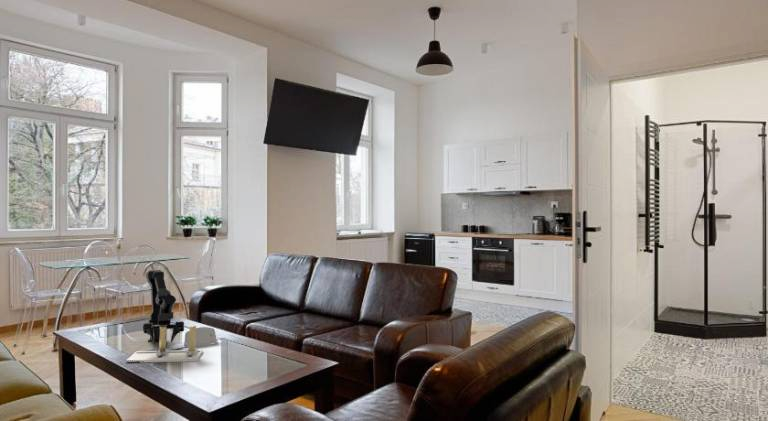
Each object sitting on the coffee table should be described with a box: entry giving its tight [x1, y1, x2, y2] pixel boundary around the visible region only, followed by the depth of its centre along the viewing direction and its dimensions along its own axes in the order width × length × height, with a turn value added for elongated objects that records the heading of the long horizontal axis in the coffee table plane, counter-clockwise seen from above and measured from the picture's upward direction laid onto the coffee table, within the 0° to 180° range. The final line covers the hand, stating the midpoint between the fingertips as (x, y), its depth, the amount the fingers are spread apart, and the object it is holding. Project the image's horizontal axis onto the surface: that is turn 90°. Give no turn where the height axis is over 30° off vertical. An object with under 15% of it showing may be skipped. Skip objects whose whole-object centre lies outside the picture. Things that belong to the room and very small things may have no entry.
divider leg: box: [156, 326, 169, 356], centre depth 229 cm, size 7×4×14 cm
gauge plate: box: [126, 325, 204, 363], centre depth 230 cm, size 14×32×15 cm, turn 100°
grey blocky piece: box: [183, 326, 218, 349], centre depth 254 cm, size 17×5×10 cm, turn 126°
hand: (162, 342), depth 229 cm, fingers open, 8 cm apart
